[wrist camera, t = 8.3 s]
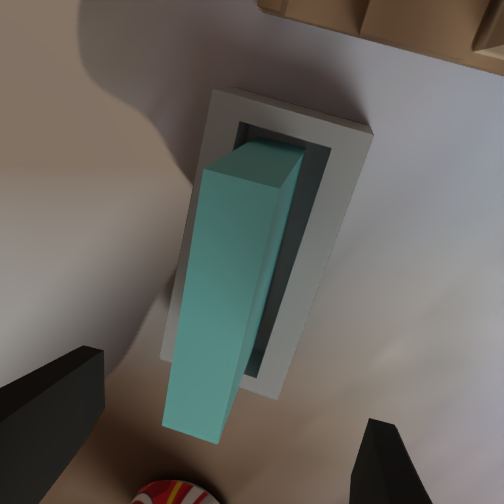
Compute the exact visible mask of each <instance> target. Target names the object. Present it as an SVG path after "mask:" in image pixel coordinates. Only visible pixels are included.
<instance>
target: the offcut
mask: <svg viewBox="0 0 504 504" xmlns="http://www.w3.org/2000/svg"><path fill="white" fill-rule="evenodd" d="M473 52H474V53H478V54H482V55H486V56H490V57H493V58H497V59H501V60H504V0H495V1H494V4H493V6H492V8H491V11H490V13H489V15H488V18H487V20H486V22H485V25H484V27H483V29H482V32H481V34H480V36H479V39H478V41H477V43H476V46H475V48H474V50H473Z"/></svg>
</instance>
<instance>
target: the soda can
mask: <svg viewBox="0 0 504 504" xmlns="http://www.w3.org/2000/svg"><path fill="white" fill-rule="evenodd" d="M131 504H220V503H219V502H218V501H217V500H216V499H215V498H214V497H213V496H212V495H211V494H210V493H209V492H207V491H206V490H205V489H203V488H202V487H200V486H198V485H196V484H193V483H190V482H187V481H182V480H161V481H155V482H152V483H149V484H147V485H145V486H144V487H143V488H141V489H140V490H139V492H138V493H137V495H136V496H135V498H134V499H133V501H132V502H131Z"/></svg>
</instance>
